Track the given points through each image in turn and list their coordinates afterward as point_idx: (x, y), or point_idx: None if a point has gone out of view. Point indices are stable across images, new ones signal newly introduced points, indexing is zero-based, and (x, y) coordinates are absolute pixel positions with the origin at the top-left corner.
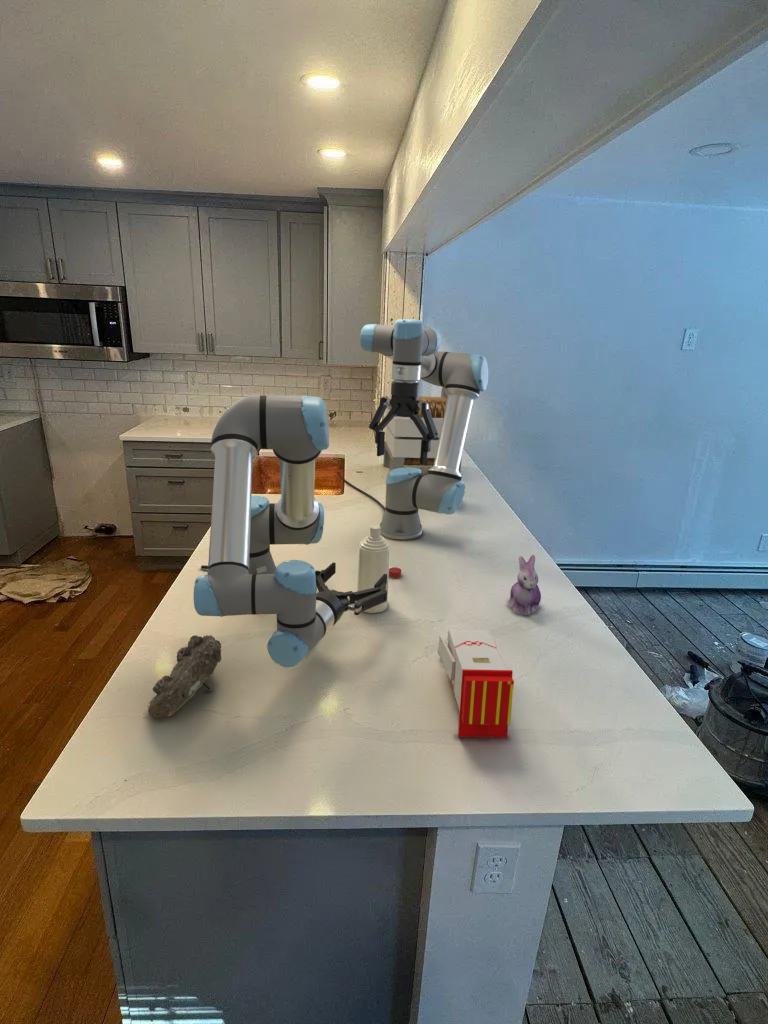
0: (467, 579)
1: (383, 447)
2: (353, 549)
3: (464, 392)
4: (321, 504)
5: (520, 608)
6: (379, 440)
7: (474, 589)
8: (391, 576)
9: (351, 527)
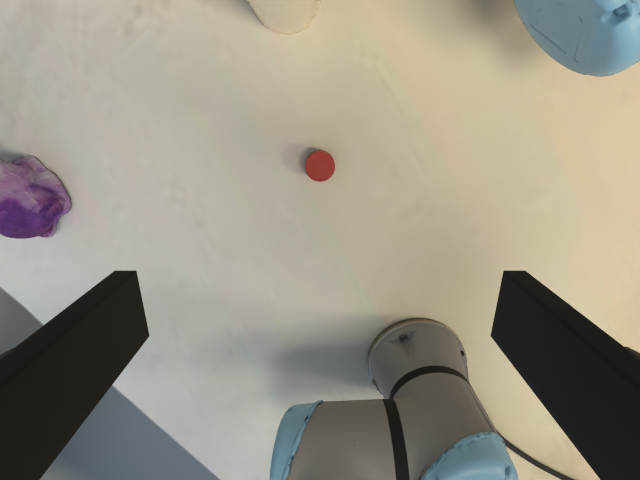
0: (187, 238)
1: (523, 364)
2: (465, 227)
3: None
4: (614, 1)
5: (19, 162)
6: (604, 355)
7: (152, 205)
8: (320, 150)
9: None
